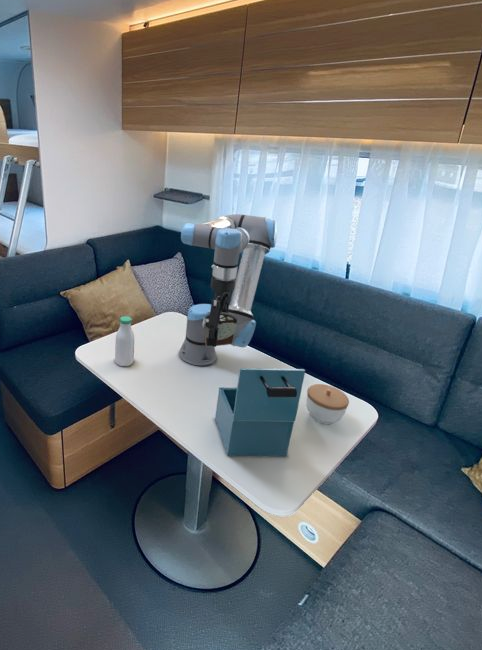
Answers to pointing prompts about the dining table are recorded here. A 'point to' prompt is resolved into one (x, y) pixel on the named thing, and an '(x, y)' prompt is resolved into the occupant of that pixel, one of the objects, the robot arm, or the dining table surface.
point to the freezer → (249, 431)
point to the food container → (222, 329)
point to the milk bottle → (124, 343)
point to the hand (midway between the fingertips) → (215, 339)
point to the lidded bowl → (326, 403)
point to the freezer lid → (268, 394)
